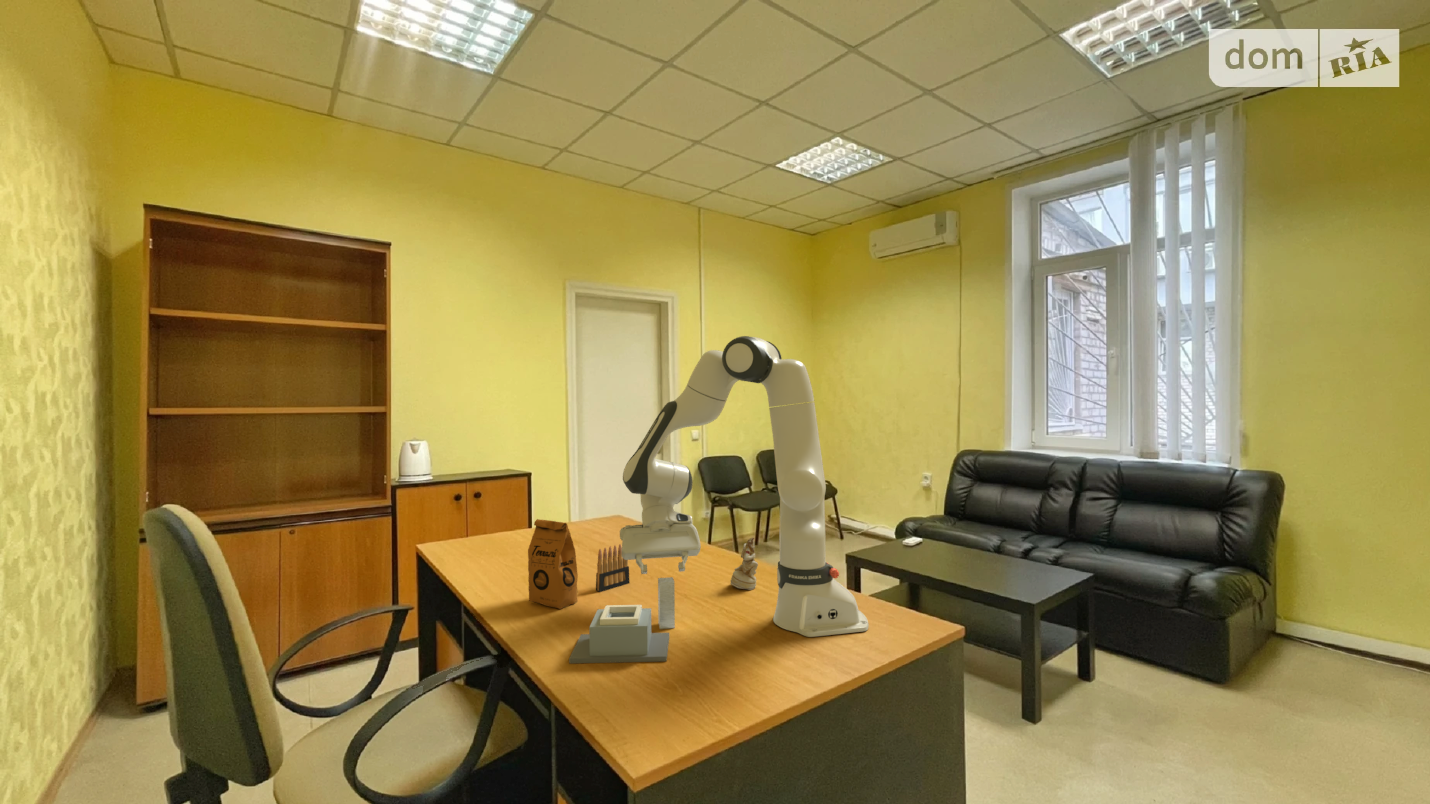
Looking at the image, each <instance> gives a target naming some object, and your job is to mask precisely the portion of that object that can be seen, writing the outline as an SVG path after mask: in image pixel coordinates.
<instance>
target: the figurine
mask: <svg viewBox="0 0 1430 804" xmlns="http://www.w3.org/2000/svg"><path fill="white" fill-rule="evenodd" d="M740 558H742V562H741V564H740V565H739V566H738V567H736V568H734V571H733V572H732V575H731V579H730V585H731V586H733V587H735V588H737V589H743V590H748V591H752V590H754V589H756V587H757V577H756V576H755V575H756V574H757V569H758V566H759V563H758V562H757V561H756V560H755V559H756V553H755V537H751V538H749V539H748V540H747V541H746V543H743V548H742V551H741V554H740Z"/></svg>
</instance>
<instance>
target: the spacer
mask: <svg viewBox="0 0 1430 804" xmlns="http://www.w3.org/2000/svg"><path fill="white" fill-rule="evenodd" d="M642 608H643V605H642V604H615V605H614V604H612V605H609V604H608V605H605V607H604V608H603V609H604V611H603V613H602V616H601V618H600V625H627V624H638V623H639V619H640V616H641V612H642ZM610 612H635V615H634V617H608V616H609V613H610Z"/></svg>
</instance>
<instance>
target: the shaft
mask: <svg viewBox="0 0 1430 804" xmlns="http://www.w3.org/2000/svg"><path fill="white" fill-rule="evenodd" d="M657 582H658V583H657V586H658V587H657V594H658V595H657V598H658V599H657V601H658V602H657V606H658V609H657V613H658V615H657V617H658V618H657V619H658V620H657V621H658V627H659V630H666V629H669V630H671V629H675V628H676V625H675V623H676V622H675V620H676V619H675V617H676V615H675V614H676V610H675V609H676V608H675V605H676V603H675V600H676V598H675V597H676V594H675V580H674V577H672V576H670V577H659V578H657Z"/></svg>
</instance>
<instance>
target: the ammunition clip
mask: <svg viewBox="0 0 1430 804" xmlns="http://www.w3.org/2000/svg"><path fill="white" fill-rule="evenodd" d="M596 565H597V566H596V567H597V569H596V570H597V571H596V573H595V574H596V575H595V577H596V578H595V579H596V580H595V592H598V593H603V592H605V591H609V590H611V589H614V588H619V587H622V586H625V585H628V584H631V583H630V566H629V560H624V559H623V558H622V543H620V544H619V545H618V548H617V546H616V544H614V545H613V550H612V546H611V545H610V546H609V547H608V549H607V547H604V548H603V552H602V549H601V548H599V549H598V554H597V563H596Z"/></svg>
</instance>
